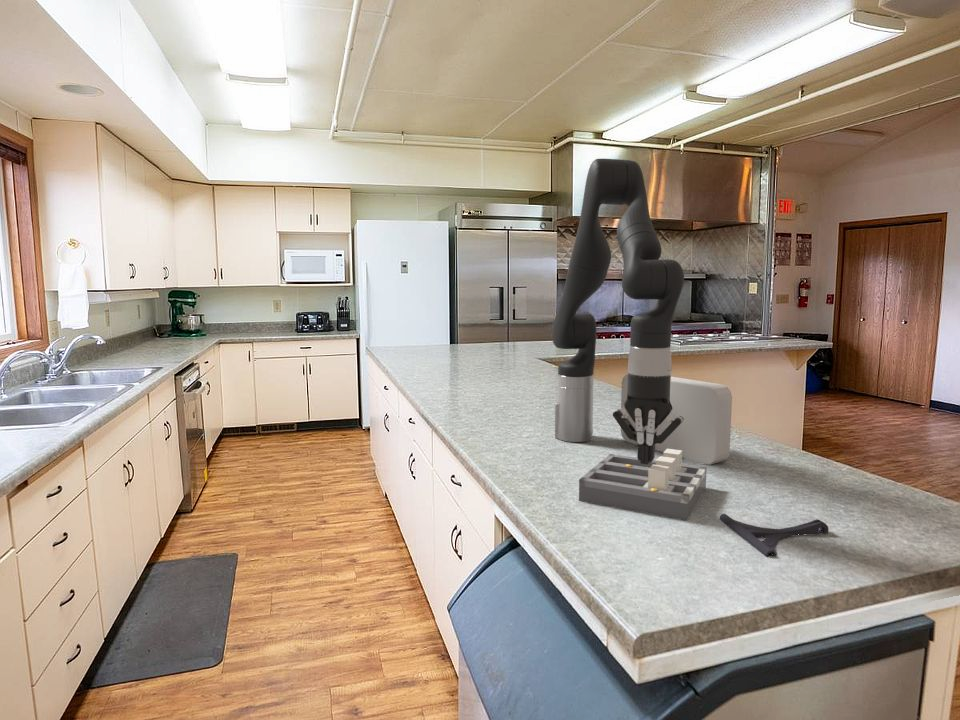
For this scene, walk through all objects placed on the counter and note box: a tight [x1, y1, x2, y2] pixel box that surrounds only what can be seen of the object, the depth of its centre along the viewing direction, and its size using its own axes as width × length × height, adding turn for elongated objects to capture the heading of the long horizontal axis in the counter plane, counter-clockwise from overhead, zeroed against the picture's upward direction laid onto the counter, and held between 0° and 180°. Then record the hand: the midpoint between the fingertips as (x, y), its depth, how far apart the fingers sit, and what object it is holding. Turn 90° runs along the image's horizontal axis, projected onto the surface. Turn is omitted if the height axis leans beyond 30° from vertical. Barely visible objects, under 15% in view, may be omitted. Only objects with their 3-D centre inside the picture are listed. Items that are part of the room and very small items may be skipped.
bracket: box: [719, 513, 829, 558], centre depth 98 cm, size 14×15×3 cm
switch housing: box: [578, 453, 708, 521], centre depth 117 cm, size 20×19×4 cm
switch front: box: [643, 465, 674, 492], centre depth 110 cm, size 5×3×4 cm
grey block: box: [620, 373, 733, 465], centre depth 146 cm, size 29×8×18 cm, turn 33°
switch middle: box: [655, 455, 681, 482], centre depth 115 cm, size 5×3×4 cm
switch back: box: [662, 449, 687, 473], centre depth 120 cm, size 5×3×4 cm
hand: (645, 462), depth 111 cm, fingers closed
